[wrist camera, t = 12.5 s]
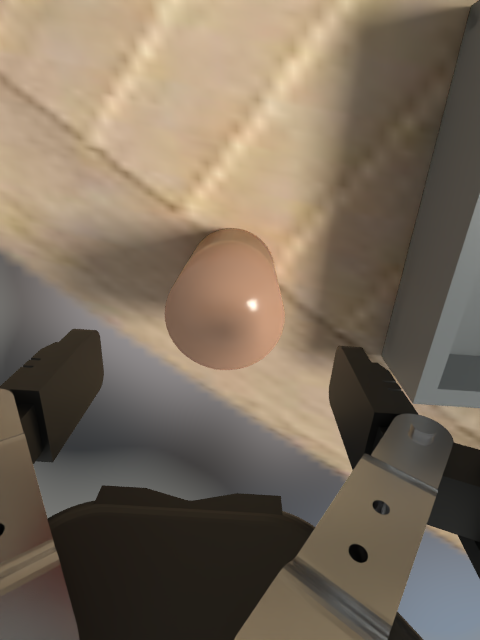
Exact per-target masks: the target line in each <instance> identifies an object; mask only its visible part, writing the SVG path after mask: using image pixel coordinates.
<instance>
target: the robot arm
mask: <svg viewBox="0 0 480 640" xmlns="http://www.w3.org/2000/svg"><path fill="white" fill-rule="evenodd" d="M103 376H104V370H103V361H102V352H101V341H100V335H99V333H98V331H96V330H84V329H72V330H71V331H70V332H69V333H68V334H67V335H66V336H65V337H64V338H63V339H62V340H61V341H60V342H55V343H53V344H51V345H49V346H47V347H45V348H43V349H41V350H40V351H38V353H36V354H35V355H34V356H33V357H32V358H31V360H29V361H27V362H26V363H25V364H24V365H23V367H21V368H20V369H19V370H18V371H16V372H15V373H14V374H13V375H12V376H11V377H10V378H9V379H8V380H7V381H5V382H4V383H3V384H2V385H1V386H0V640H423V639H422V638H421V637H420V635H419V634H418V633H417V632H416V631H415V630H414V629H413V628H412V627H411V626H410V625H409V624H408V623H407V621H405V619H404V618H403V617H402V616H401V615H400V614H399V613H398V612H397V610H398V607H399V604H400V601H401V598H402V595H403V592H404V589H405V586H406V583H407V580H408V578H409V574H410V571H411V569H412V566H413V563H414V560H415V557H416V554H417V551H418V548H419V545H420V542H421V540H422V537H423V534H424V531H425V528H426V525H430V526H433V527H436V528H439V529H442V530H445V531H448V532H451V533H454V534H457V535H458V537H459V539H460V541H461V543H462V545H463V547H464V549H465V551H466V553H467V555H468V557H469V559H470V561H471V563H472V565H473V567H474V569H475V571H476V572H477V574H478V576H479V578H480V450H478V449H474V448H471V447H467V446H463V445H460V444H457V443H454V442H453V438H452V436H451V434H450V433H449V432H448V430H447V429H446V428H444V427H443V426H442V425H441V424H439V423H438V422H436V421H434V420H432V419H430V418H427V417H425V416H421V415H418V413H417V412H416V410H415V409H414V407H413V406H412V404H411V403H410V401H409V400H408V398H407V397H406V395H405V394H404V393H403V391H401V388H400V387H399V385H398V384H397V383H396V381H395V379H394V378H393V376H392V375H391V373H390V372H389V371H388V370H386V369H385V368H384V367H382V366H381V365H380V364H378V363H373V362H371V361H370V359H369V358H368V356H367V355H366V353H365V351H364V350H363V348H361V347H348V346H339V347H338V348H337V350H336V354H335V359H334V364H333V370H332V375H331V380H330V385H329V401H330V405H331V408H332V411H333V414H334V417H335V420H336V423H337V426H338V429H339V431H340V434H341V437H342V440H343V443H344V446H345V449H346V452H347V455H348V458H349V461H350V463H351V466H352V469H353V471H352V473H351V474H350V476H349V477H348V479H347V480H346V482H345V483H344V485H343V486H342V488H341V489H340V491H339V493H338V494H337V495H336V497H335V499H334V500H333V502H332V503H331V505H330V506H329V508H328V509H327V511H326V512H325V514H324V515H323V517H322V518H321V520H320V521H319V523H318V524H317V526H316V527H314V526H313V525H311V524H310V523H308V522H306V521H304V520H303V519H300V518H299V517H297V516H294V515H292V514H290V513H286V512H283V511H282V504H281V496H271V495H254V494H238V493H237V494H231V495H225V496H219V497H213V498H207V499H201V500H195V501H188V500H184V499H181V498H177V497H174V496H170V495H167V494H164V493H161V492H157V491H154V490H151V489H147V488H136V487H118V486H102V487H101V489H100V491H99V494H98V496H97V498H96V500H95V501H91V502H86V503H83V504H79V505H76V506H73V507H70V508H68V509H66V510H63V511H61V512H59V513H57V514H55V515H53V516H52V517H50V518H48V519H47V515H46V511H45V508H44V504H43V500H42V496H41V493H40V489H39V485H38V482H37V478H36V474H35V470H34V467H33V464H34V463H35V461H41V462H53V461H54V460H55V458H56V457H57V455H58V454H59V452H60V450H61V449H62V447H63V446H64V444H65V443H66V441H67V440H68V438H69V436H70V435H71V434H72V432H73V430H74V429H75V427H76V426H77V424H78V423H79V421H80V419H81V418H82V416H83V415H84V413H85V412H86V410H87V409H88V407H89V406H90V404H91V403H92V401H93V399H94V398H95V396H96V395H97V393H98V392H99V390H100V388H101V386H102V382H103Z"/></svg>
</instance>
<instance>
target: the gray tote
mask: <svg viewBox="0 0 480 640" xmlns="http://www.w3.org/2000/svg"><path fill="white" fill-rule="evenodd" d="M381 356H382V358H383V359H384V361H385V362H386V364H387V365H388V367H389V368H390V370H391V371H392V373H393V374H394V376H395V377H396V379H397V380H398V382H399V383H400V385H401V386H402V388H403V389H404V391H405V392H406V394H407V395H408V397H409V398H410V400H411V401H412V403H413V404H427V405H442V406H457V407H471V408H480V0H479V1H477V2H476V3H474V4H473V5H472V6H471V8H470V12H469V16H468V20H467V24H466V28H465V32H464V36H463V40H462V44H461V47H460V51H459V55H458V59H457V63H456V67H455V71H454V75H453V79H452V82H451V86H450V90H449V94H448V98H447V102H446V106H445V110H444V114H443V118H442V121H441V125H440V129H439V133H438V137H437V141H436V145H435V149H434V153H433V157H432V160H431V164H430V168H429V172H428V176H427V180H426V184H425V188H424V192H423V195H422V199H421V203H420V207H419V211H418V215H417V219H416V223H415V227H414V231H413V234H412V238H411V242H410V246H409V250H408V254H407V258H406V262H405V266H404V270H403V273H402V277H401V281H400V285H399V289H398V293H397V297H396V301H395V305H394V308H393V312H392V316H391V320H390V324H389V328H388V332H387V336H386V340H385V344H384V347H383V351H382V355H381Z"/></svg>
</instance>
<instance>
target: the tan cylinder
mask: <svg viewBox="0 0 480 640" xmlns="http://www.w3.org/2000/svg"><path fill="white" fill-rule="evenodd" d="M284 319H285V314H284V306H283V302H282V297H281V293H280V288H279V284H278V279H277V275H276V271H275V266H274V262H273V258H272V255H271V253H270V251H269V249H268V247H267V246H266V245H265V243H264V242H263V241H262V240H261V239H259V238H258V237H257V236H255V235H254V234H252V233H250V232H248V231H245V230H241V229H235V228H228V229H222V230H218V231H216V232H213V233H211V234H210V235H208V236H207V237H205V238H204V239H203V240H202V241H201V242H200V243H199V244H198V246H197V247H196V249H195V250H194V252H193V254H192V255H191V257H190V259H189V260H188V262H187V264H186V265H185V267H184V269H183V270H182V272H181V273H180V275H179V277H178V278H177V280H176V282H175V283H174V285H173V287H172V289H171V290H170V292H169V295H168V298H167V301H166V306H165V322H166V326H167V330H168V332H169V335H170V337H171V339H172V340H173V342H174V343H175V345H176V346H177V348H178V349H179V350H180V351H181V352H182V353H183V354H185V355H186V356H187V357H188V358H190V359H191V360H193V361H194V362H196V363H198V364H200V365H203V366H206V367H209V368H213V369H220V370H233V369H240V368H244V367H247V366H250V365H252V364H254V363H256V362H258V361H260V360H261V359H263V358H264V357H265V356H266V355H268V354H269V353H270V352H271V350H272V349H273V348H274V347H275V345H276V344H277V342H278V340H279V339H280V337H281V334H282V331H283V327H284Z"/></svg>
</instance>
